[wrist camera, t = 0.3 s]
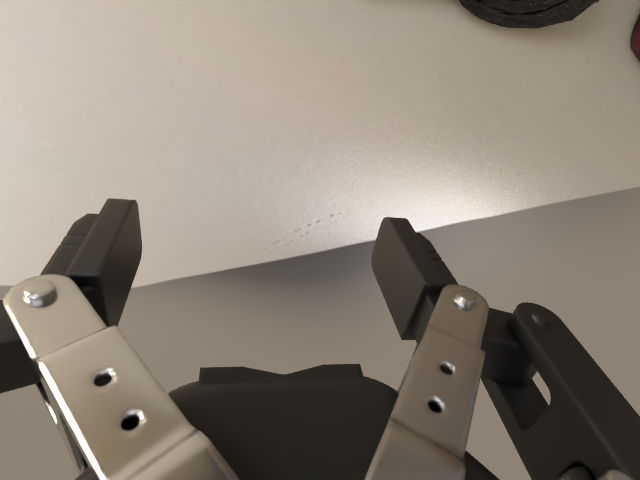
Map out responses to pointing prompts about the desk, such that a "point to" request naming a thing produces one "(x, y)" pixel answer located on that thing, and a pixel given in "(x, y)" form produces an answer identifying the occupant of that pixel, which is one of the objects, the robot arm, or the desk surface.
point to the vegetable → (636, 39)
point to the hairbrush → (560, 5)
